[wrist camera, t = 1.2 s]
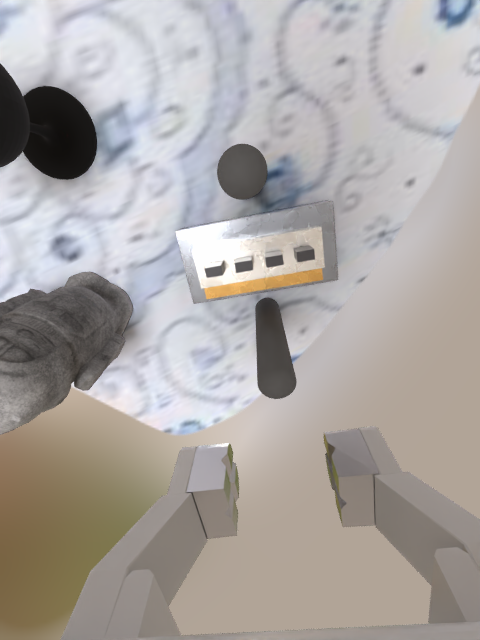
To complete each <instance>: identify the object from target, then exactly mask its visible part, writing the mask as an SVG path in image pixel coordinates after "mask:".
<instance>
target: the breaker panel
mask: <svg viewBox="0 0 480 640" xmlns="http://www.w3.org/2000/svg"><path fill="white" fill-rule="evenodd" d="M175 232H176V236H177V240H178V244H179V248H180V252H181V256H182V260H183V264H184V268H185V272H186V276H187V280H188V283H189V287H190V291H191V295H192V299H193V303H194V304H196V303H202V302H208V301H214V300H220V299H226V298H232V297H238V296H244V295H250V294H256V293H262V292H268V291H274V290H280V289H287V288H293V287H299V286H305V285H311V284H317V283H323V282H329V281H335V280H338V270H337V255H336V240H335V225H334V210H333V201H321V202H316V203H311V204H306V205H301V206H295V207H290V208H285V209H280V210H275V211H269V212H264V213H259V214H254V215H249V216H243V217H238V218H233V219H228V220H223V221H217V222H212V223H207V224H202V225H197V226H191V227H186V228H182V229H179V230H177V231H175ZM309 245H310V246H311V247H312V248H314V252H315V260H309V261H303V262H297V261H296V259H295V257H294V249H293V248H297V247H303V246H309ZM275 251H281V253H282V255H283V262H284V265H280V266H274V267H269V268H267V267H266V262H265V255H264V253H269V252H275ZM247 256H252V262H253V270H251V271H246V272H240V273H236V269H235V259H236V258H241V257H247ZM219 261H223V262H224V267H225V272H224V274H223V275H222V276H217V277H211V278H206V273H205V269H204V268H205V267H206V265H207V264H208V263H213V262H219Z"/></svg>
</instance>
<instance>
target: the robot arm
mask: <svg viewBox="0 0 480 640" xmlns="http://www.w3.org/2000/svg"><path fill="white" fill-rule="evenodd" d="M324 444H325V447H326V451H327V453H326V454H325V455H326V463H327V469H328V474H329V479H330V482H331V486H332V489H333V490H334V491H335V498H336V505H337V509H338V512H339V516H340V519H341V523H342V526H343V527H351V526H352V527H353V526H373V525H376V528H377V529H378V530H379V531H380V532H381V533H382V534H383V535H384V536H385V537H386V538H387V539H388V541H389V542H390V543H391V544H392V545H393V546H394V547H395V548H396V549H397V550H398V551H399V552H400V553H401V554H402V555H403V556H404V557H405V558H406V559H407V561H408V562H409V563H410V564H411V565H412V566H413V567H414V568H415V569H416V570H417V571H418V572H419V573H420V574H421V575H422V576H423V577H424V578H425V579H426V580H427V582H428V583H429V584H430V585H431V586H432V588H431V598H430V599H431V600H430V610H429V621H428V622H429V624H414V625H393V626H372V627H348V628H327V629H306V630H285V631H264V632H243V633H222V634H201V635H181V633H180V631H179V629H178V627H177V625H176V622H175V620H174V618H173V616H172V614H171V612H170V609H169V607H168V606H169V605H170V603H171V601H172V600H173V598H174V596H175V594H176V593H177V591H178V590H179V588H180V586H181V585H182V583H183V581H184V579H185V578H186V576H187V574H188V573H189V571H190V569H191V568H192V566H193V564H194V563H195V561H196V559H197V557H198V556H199V554H200V553H201V551H202V549H203V548H204V545H205V544H206V542H207V539H211V538H220V537H229V536H237V522H238V510H237V507H236V501H237V499H238V498H239V478H238V471H237V466H236V463H234V462H233V451H232V448H231V444H229V443H227V444H215V445H204V446H198V447H185V448H182V449H181V450H180V452H179V455H178V459H177V462H176V466H175V469H174V472H173V476H172V479H171V483H170V486H169V489H168V493H167V495H164V496H161V497H160V498H159V499H158V500H157V501H156V503H155V504H154V505H153V506H152V507H151V508H150V509H149V510H148V511H147V512H146V513H145V514H144V515H143V516H142V517H141V519H139V521H138V522H137V523H136V524H135V525H134V526H133V527H132V528H131V529H130V530H129V531H128V532H127V533H126V534H125V535H124V537H122V539H121V540H120V541H119V542H118V543H117V544H116V545H115V546H114V547H113V548H112V549H111V550H110V551H109V552H108V554H106V555H105V557H104V558H103V559H102V560H101V561H100V562H99V563H98V564H97V565H96V566H95V567H94V568H93V569H92V570H91V571H90V574H89V576H88V578H87V580H86V583H85V585H84V587H83V590H82V592H81V594H80V597H79V599H78V601H77V603H76V606H75V608H74V610H73V612H72V615H71V617H70V619H69V622H68V624H67V627H66V628H65V631H64V633H63V635H62V638H61V640H480V519H478V518H477V517H475V516H474V515H472V514H471V513H469V512H468V511H466V510H465V509H463V508H462V507H460V506H459V505H457V504H456V503H454V502H453V501H451V500H450V499H448V498H447V497H445V496H444V495H442V494H441V493H439V492H438V491H436V490H435V489H433V488H432V487H430V486H429V485H427V484H426V483H424V482H423V481H421V480H420V479H418V478H417V477H415V476H414V475H412V474H411V473H410V472H402V471H401V468H400V467H399V465H398V463H397V461H396V459H395V458H394V456H393V454H392V452H391V450H390V448H389V447H388V445H387V443H386V441H385V439H384V438H383V436H382V434H381V432H380V430H379V428H378V427H376V426H370V427H363V428H358V429H357V428H356V429H347V430H339V431H331V432H324Z"/></svg>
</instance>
